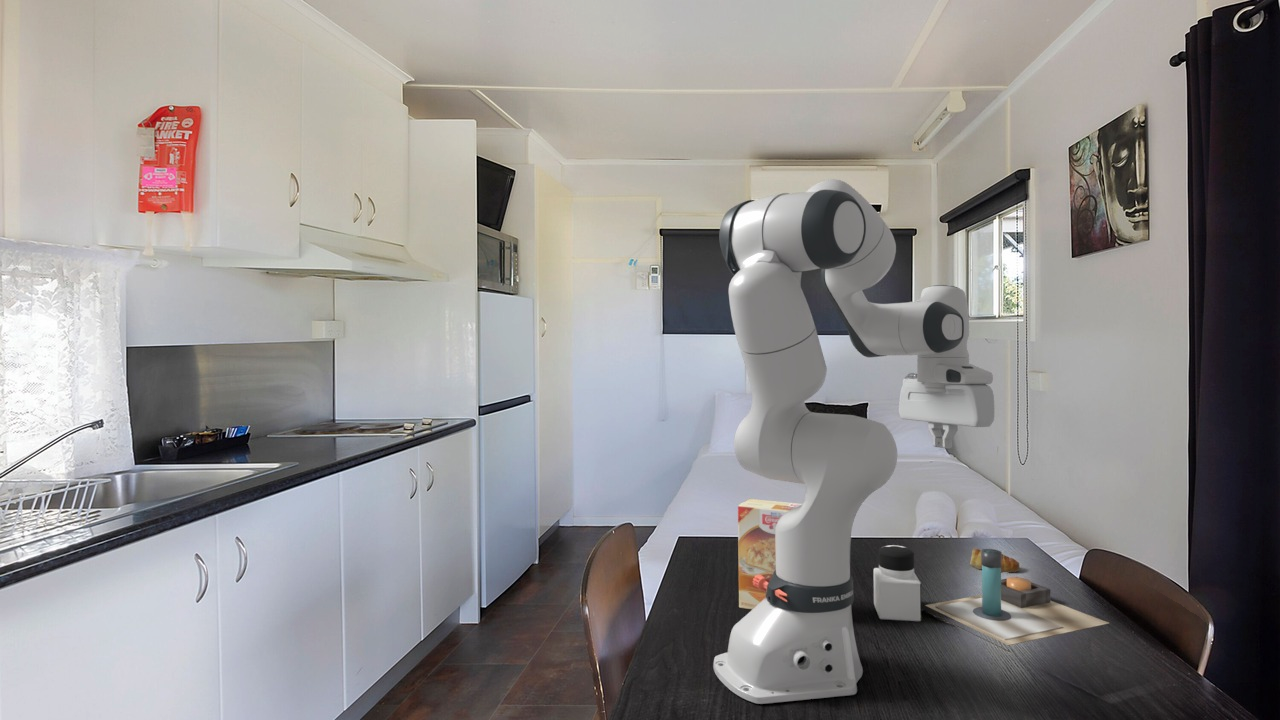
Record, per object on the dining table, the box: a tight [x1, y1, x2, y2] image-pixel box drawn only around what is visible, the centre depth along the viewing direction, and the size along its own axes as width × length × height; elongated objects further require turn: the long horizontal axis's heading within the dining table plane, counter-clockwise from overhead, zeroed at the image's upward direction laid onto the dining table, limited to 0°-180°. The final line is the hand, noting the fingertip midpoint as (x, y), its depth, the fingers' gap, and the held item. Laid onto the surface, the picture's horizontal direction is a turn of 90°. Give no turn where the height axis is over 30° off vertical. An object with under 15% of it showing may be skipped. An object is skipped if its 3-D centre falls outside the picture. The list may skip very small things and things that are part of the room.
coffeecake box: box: [737, 498, 803, 610], centre depth 126 cm, size 15×7×20 cm, turn 62°
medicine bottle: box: [873, 544, 922, 622], centre depth 122 cm, size 7×7×12 cm
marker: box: [980, 548, 1003, 617], centre depth 118 cm, size 3×3×11 cm
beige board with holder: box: [924, 578, 1110, 652], centre depth 119 cm, size 23×18×4 cm
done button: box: [1006, 576, 1032, 591], centre depth 126 cm, size 4×4×3 cm
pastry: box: [969, 547, 1020, 573], centre depth 146 cm, size 9×7×4 cm
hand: (942, 447), depth 125 cm, fingers closed
